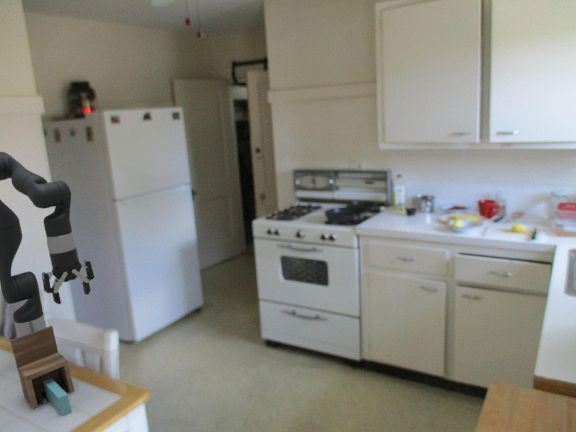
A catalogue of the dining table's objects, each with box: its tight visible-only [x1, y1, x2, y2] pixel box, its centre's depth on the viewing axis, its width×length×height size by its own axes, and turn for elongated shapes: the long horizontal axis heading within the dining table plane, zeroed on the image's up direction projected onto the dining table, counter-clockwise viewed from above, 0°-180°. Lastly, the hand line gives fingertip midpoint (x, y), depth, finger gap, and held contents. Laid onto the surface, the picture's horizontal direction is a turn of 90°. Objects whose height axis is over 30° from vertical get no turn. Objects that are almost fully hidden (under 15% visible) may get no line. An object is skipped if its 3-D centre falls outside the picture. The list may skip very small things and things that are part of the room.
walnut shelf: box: [10, 325, 75, 410], centre depth 152 cm, size 9×12×20 cm
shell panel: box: [43, 378, 72, 417], centre depth 147 cm, size 14×2×6 cm, turn 44°
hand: (73, 298), depth 150 cm, fingers open, 8 cm apart
